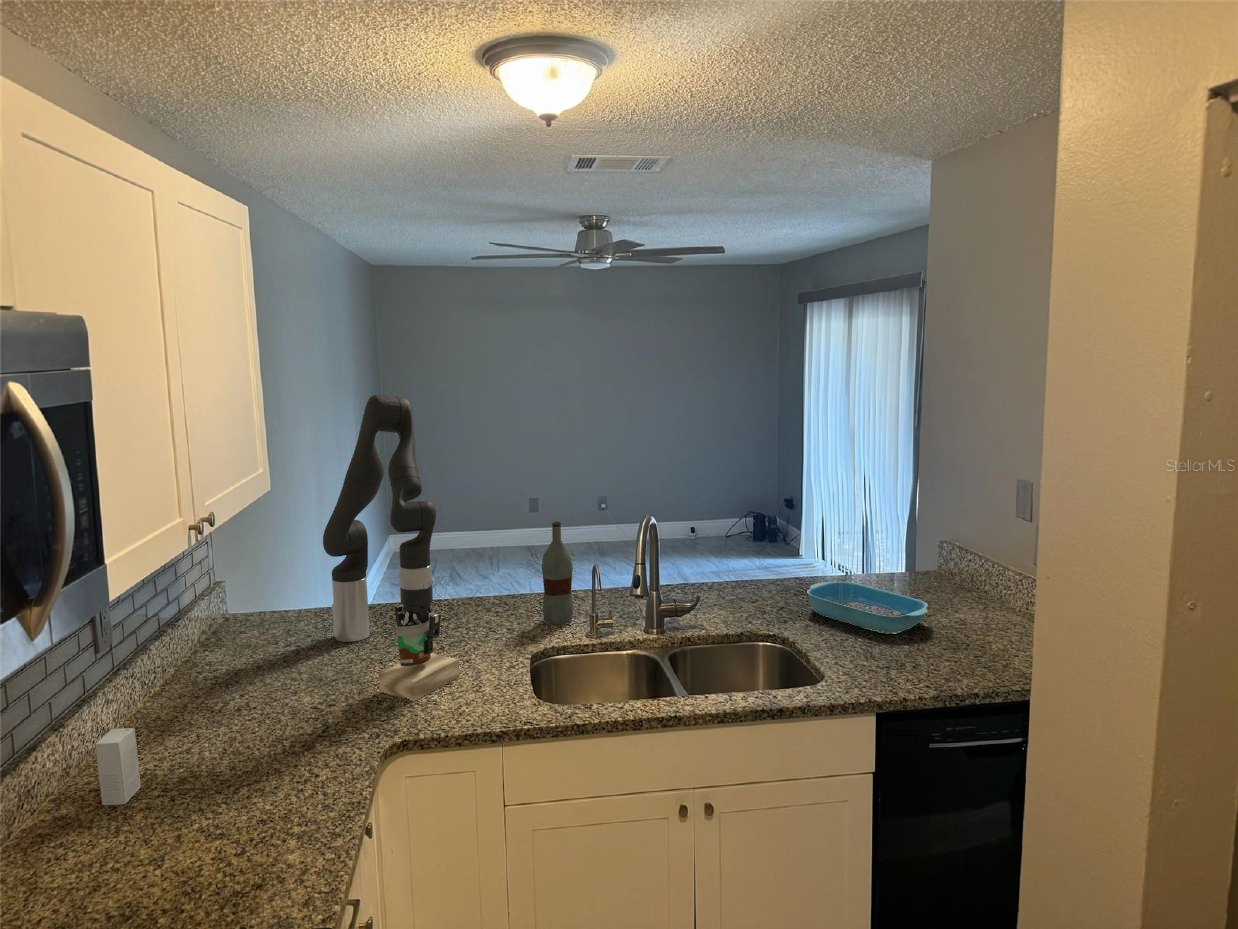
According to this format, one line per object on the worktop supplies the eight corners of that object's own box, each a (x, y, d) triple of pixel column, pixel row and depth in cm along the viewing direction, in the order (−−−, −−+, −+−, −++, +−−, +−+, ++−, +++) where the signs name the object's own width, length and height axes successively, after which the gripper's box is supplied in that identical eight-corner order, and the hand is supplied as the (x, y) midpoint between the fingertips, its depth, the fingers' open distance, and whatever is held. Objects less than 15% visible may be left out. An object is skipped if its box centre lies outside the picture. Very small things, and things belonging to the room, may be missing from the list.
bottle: (556, 614, 255) (554, 518, 251) (580, 619, 250) (578, 521, 246) (536, 622, 248) (534, 523, 243) (560, 628, 242) (558, 527, 238)
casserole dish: (942, 626, 242) (943, 603, 241) (900, 645, 228) (901, 619, 227) (835, 598, 270) (835, 576, 269) (792, 612, 256) (792, 590, 255)
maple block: (379, 693, 199) (378, 673, 198) (426, 670, 213) (425, 651, 212) (414, 702, 194) (413, 682, 193) (459, 678, 208) (458, 659, 207)
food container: (421, 670, 195) (419, 629, 194) (397, 668, 197) (395, 627, 195) (444, 651, 207) (442, 612, 206) (421, 650, 209) (419, 611, 207)
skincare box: (117, 788, 156) (111, 728, 155) (141, 787, 157) (135, 727, 155) (100, 806, 150) (94, 743, 149) (125, 805, 151) (119, 742, 149)
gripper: (383, 582, 201) (386, 649, 203) (424, 592, 193) (427, 662, 195) (407, 575, 207) (410, 640, 209) (448, 584, 199) (451, 652, 201)
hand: (418, 650), depth 202 cm, fingers closed on food container, 6 cm apart
